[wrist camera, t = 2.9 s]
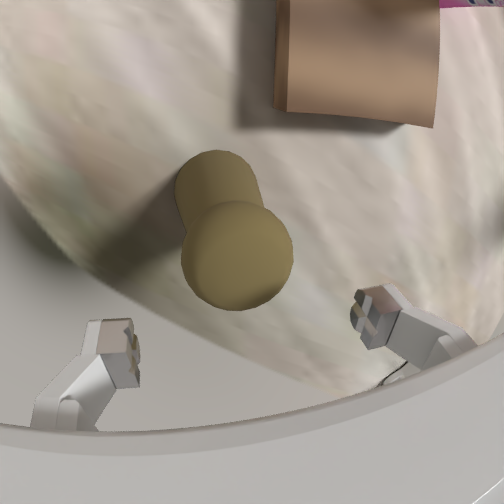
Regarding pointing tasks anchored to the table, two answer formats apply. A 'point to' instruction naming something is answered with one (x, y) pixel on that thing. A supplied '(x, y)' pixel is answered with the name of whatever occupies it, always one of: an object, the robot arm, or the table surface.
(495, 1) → the gum box
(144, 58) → the table surface
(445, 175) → the table surface
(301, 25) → the walnut block
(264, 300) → the cork
